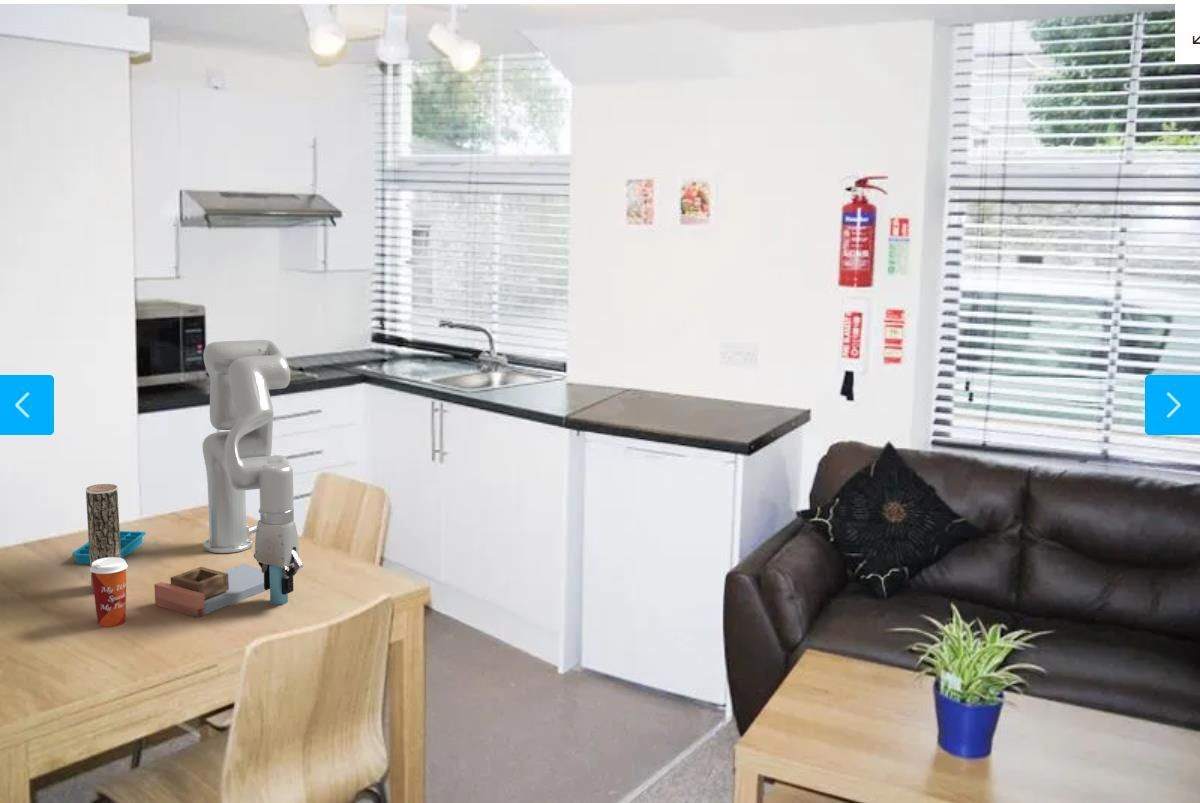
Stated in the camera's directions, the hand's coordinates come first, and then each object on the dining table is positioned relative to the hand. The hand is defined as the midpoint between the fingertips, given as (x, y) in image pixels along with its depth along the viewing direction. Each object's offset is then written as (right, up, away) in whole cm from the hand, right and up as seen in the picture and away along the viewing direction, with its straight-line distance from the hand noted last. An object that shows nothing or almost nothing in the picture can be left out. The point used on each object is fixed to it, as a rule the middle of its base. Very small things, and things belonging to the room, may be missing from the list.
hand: (278, 589), depth 260 cm
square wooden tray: (-18, 0, -2) cm, 18 cm away
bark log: (-43, -1, +5) cm, 43 cm away
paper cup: (-33, -5, -14) cm, 36 cm away
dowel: (0, -3, +1) cm, 3 cm away
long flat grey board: (-15, -2, +5) cm, 16 cm away
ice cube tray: (-53, +4, +31) cm, 61 cm away
